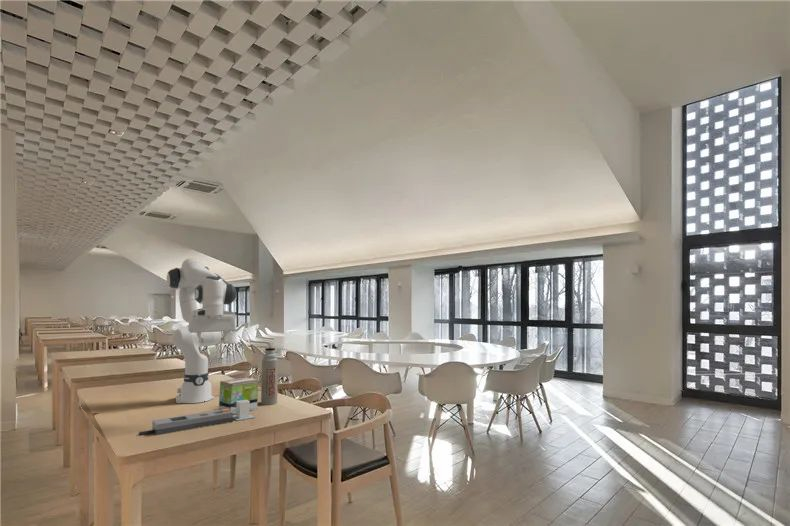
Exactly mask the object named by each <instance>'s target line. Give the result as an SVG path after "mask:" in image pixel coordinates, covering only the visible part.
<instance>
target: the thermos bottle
mask: <svg viewBox="0 0 790 526" xmlns="http://www.w3.org/2000/svg"><path fill="white" fill-rule="evenodd" d="M264 351H265V352H264V354H263V358H262V359H261V388H260V389H261V393H260V394H261V395H260V396H261V397H260V404H261V405H263V406H264V405H265V406H269V405H270V406H271V404H272V405H275V404H277V403H278V383H279V382H278V372H279V370H278V367H279V360H278V358H277V357H278V355H277V353H276V348H275V347H267V348H266V347H265V349H264Z"/></svg>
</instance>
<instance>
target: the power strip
mask: <svg viewBox="0 0 790 526" xmlns="http://www.w3.org/2000/svg"><path fill="white" fill-rule="evenodd" d="M233 416H234V414H233V413H232V412H231V411H230V409H223V410H219V409H218V410H212V411H206V412H200V413H193V414H192V413H191V414H187V415H185V414H184V415H180V416H173V417H165V418H160V419H154V420H152V426H151V429H150V430H144V431H139V432H138V436H142V435H143V434H144V435H148V434H149V433H150V434H155V435H156V436H158V434H159V435H165V434H170V433H171V434H172V433H176V431H177V432H181V430H183V431H187V429H188V430H192V429H193V428H194V429H198V427H200V428H204V427H203V426H206V427H210V426H209V425H212V426H216V425H215V424H218V425H222V424H221V423H223V424H228V423H227V422H229V423H233V421H234V419H233ZM194 429H193V430H194ZM150 434H149V435H150Z"/></svg>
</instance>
